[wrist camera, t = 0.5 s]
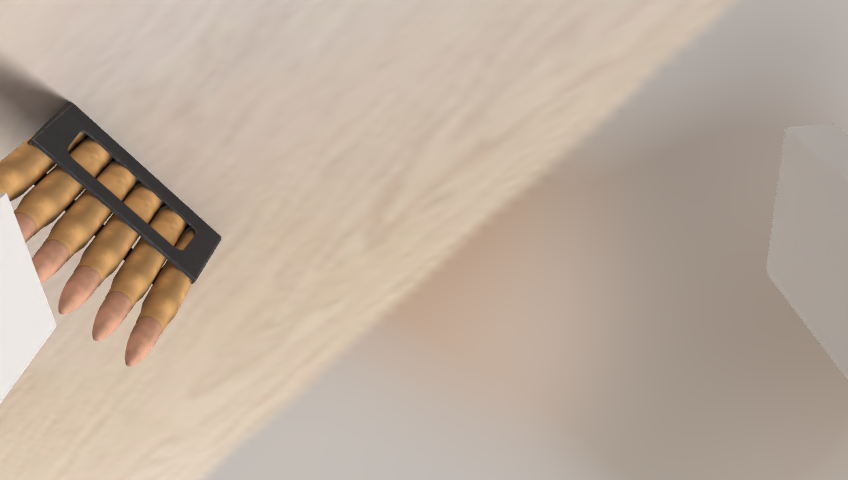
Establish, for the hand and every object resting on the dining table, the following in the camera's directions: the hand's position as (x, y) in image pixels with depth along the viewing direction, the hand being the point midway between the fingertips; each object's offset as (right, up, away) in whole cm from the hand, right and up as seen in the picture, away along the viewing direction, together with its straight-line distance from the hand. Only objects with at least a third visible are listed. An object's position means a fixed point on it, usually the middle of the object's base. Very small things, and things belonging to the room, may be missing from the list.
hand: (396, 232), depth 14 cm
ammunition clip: (-15, +3, +30) cm, 33 cm away
